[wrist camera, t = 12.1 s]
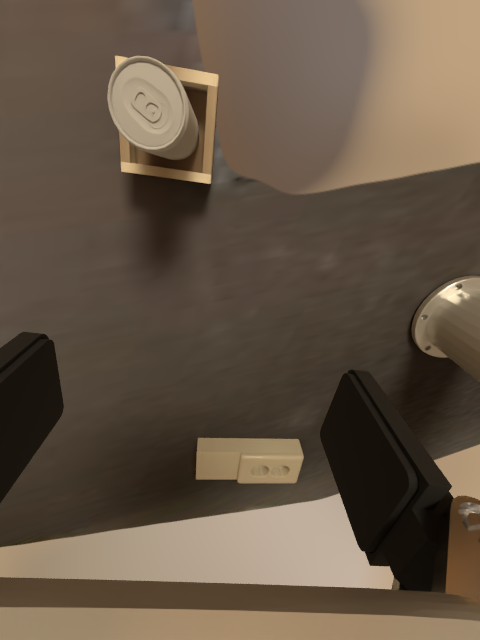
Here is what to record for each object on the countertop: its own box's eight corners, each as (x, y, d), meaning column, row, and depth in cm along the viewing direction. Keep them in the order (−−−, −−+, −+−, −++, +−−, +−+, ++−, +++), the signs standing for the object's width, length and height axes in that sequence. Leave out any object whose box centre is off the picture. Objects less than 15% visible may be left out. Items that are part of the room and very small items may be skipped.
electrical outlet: (196, 457, 45) (304, 457, 47) (198, 436, 49) (298, 437, 51) (195, 484, 49) (296, 484, 50) (197, 463, 52) (291, 463, 54)
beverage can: (181, 171, 29) (160, 170, 18) (140, 135, 27) (89, 111, 17) (209, 128, 27) (204, 99, 17) (167, 88, 26) (131, 27, 15)
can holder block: (218, 87, 27) (218, 74, 23) (211, 182, 30) (210, 183, 27) (129, 71, 26) (115, 55, 22) (133, 171, 30) (121, 171, 26)
